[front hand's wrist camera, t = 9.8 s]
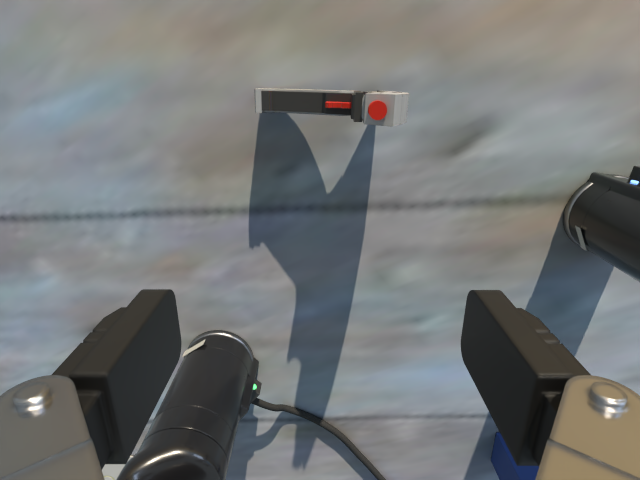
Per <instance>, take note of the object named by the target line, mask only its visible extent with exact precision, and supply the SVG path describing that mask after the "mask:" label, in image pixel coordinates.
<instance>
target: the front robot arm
mask: <svg viewBox="0 0 640 480" xmlns="http://www.w3.org/2000/svg"><path fill="white" fill-rule="evenodd" d="M180 352H181V335H180V328H179V321H178V313H177V306H176V299H175V295H174V292H173V291H172V290H141V291H140V292H139V293H138V295H137V296H136V297H135V298H134V299H133V300H132V302H131V303H130V304H129V305H128V306H127V307H126V308H120V309H118V310H116V311H115V312H113V313H111V314H110V315H108V316H106V317H105V318H103V319H102V321H101V322H100V323H99V324H98V325H97V326H96V327H95V328H94V329H93V332H92V333H90V334H89V335H88V336H87V337H86V338H85V339H84V340H83V343H80V344H79V346H78V347H77V348H76V349H75V350H74V351H73V352H72V353H71V354H70V355H69V356H68V358H67V359H66V360H65V361H64V362H63V363H62V364H61V365H60V366H59V367H58V368H57V370H56V371H55V372H54V373H53V374H52V375H49V376H42V377H37V378H34V379H31V380H28V381H25V382H23V383H21V384H18V385H16V386H15V387H13V388H11V389H9V390H8V391H6V392H5V393H3V394H2V395H1V396H0V480H105V479H104V476H103V473H102V469H103V467H104V465H105V464H125V466H124V467H123V469H122V470H121V472H120V474H119V476H118V477H117V479H116V480H225V478H226V474H227V470H228V465H229V461H230V457H231V453H232V448H233V444H234V440H235V436H236V431H237V427H238V423H239V420H240V419H241V418H242V417H243V416H244V415H245V414H246V413H247V412H248V410H249V406H250V404H251V403H252V404H254V405H257V406H259V407H262V408H265V409H268V410H272V411H285V412H289V413H292V414H295V415H298V416H300V417H303V418H305V419H308V420H310V421H312V422H314V423H316V424H318V425H320V426H321V427H323V428H325V429H326V430H328V431H329V432H331V433H332V434H334V435H335V436H336V437H338V438H339V439H340V440H341V441H342V442H343V443H344V444H345V445H346V446H347V447H348V448H349V449H350V450H351V451H352V452H353V453H354V454H355V456H356V457H357V458H358V459H359V460H360V461H361V462H362V463H363V464H364V465H365V466H366V467H367V468H368V469H369V470H370V471H371V473H372V474H373V475H374V476H375V477H376V478H377V479H378V480H386V479H385V478H384V477H383V476H382V475H381V474H380V473H379V472H378V470H377V469H376V468H375V467H374V466H373V465H372V464H371V463H370V462H369V461H368V459H367V458H366V457H365V456H364V455H363V454H362V453H361V452H360V451H359V450H358V449H357V448H356V447H355V446H354V444H353V443H352V442H351V441H350V440H349V439H348V438H347V437H346V436H345V435H344V434H342V433H341V432H340V431H339V430H337V429H336V428H335V427H333V426H332V425H330V424H328V423H327V422H325V421H323V420H322V419H320V418H318V417H316V416H314V415H312V414H309V413H307V412H305V411H302V410H299V409H297V408H294V407H291V406H287V405H282V404H280V405H275V404H271V403H268V402H265V401H263V400H260V399H258V398H257V397H258V396H259V394H260V389H261V384H262V383H260V382H259V381H257V380H256V379H255V378H256V373H257V369H258V364H259V361H258V360H256V359H255V358H254V357H253V353H252V350H251V348H250V347H249V345H248V344H247V343H246V342H245V341H244V340H243V339H242V338H241V337H239V336H237V335H235V334H233V333H231V332H227V331H221V330H214V331H208V332H205V333H202V334H201V335H199V336H197V337H196V338H195V339H194V340H193V341H192V342H191V344H190V345H189V347H188V350H186V351H185V352H184V354H183V356H185V357H184V359H183V361H182V363H181V365H180V367H179V369H178V371H177V373H176V375H175V377H174V380H173V382H172V384H171V386H170V388H169V390H168V392H167V394H166V396H165V398H164V400H163V402H162V404H161V406H160V408H159V410H158V412H157V414H156V416H155V418H154V420H153V422H152V424H151V427H150V429H149V431H148V433H147V435H146V437H145V439H144V441H143V443H142V445H141V447H140V449H139V451H138V452H137V454H135V455H134V456H133V457H132V458H131V459H130V460H129V461H128V459H129V458H130V456H131V454H132V452H133V450H134V448H135V446H136V444H137V442H138V440H139V438H140V436H141V434H142V432H143V430H144V428H145V426H146V424H147V422H148V420H149V418H150V416H151V414H152V412H153V410H154V408H155V406H156V404H157V402H158V400H159V398H160V396H161V394H162V393H163V391H164V389H165V387H166V385H167V383H168V381H169V379H170V377H171V375H172V373H173V371H174V369H175V367H176V365H177V363H178V360H179V357H180ZM461 352H462V357H463V361H464V363H465V365H466V367H467V369H468V371H469V373H470V375H471V377H472V379H473V381H474V383H475V385H476V387H477V389H478V391H479V393H480V395H481V397H482V398H483V400H484V402H485V404H486V406H487V408H488V410H489V412H490V414H491V416H492V418H493V420H494V422H495V424H496V426H497V428H498V430H499V432H500V434H501V435H502V437H503V439H504V441H505V443H506V445H507V447H508V449H509V451H510V453H511V455H512V457H513V459H514V461H515V463H516V465H517V466H539V469H538V473H537V476H536V479H535V480H640V396H639V395H638V394H637V393H635V392H634V391H632V390H631V389H629V388H627V387H625V386H624V385H622V384H619V383H617V382H615V381H612V380H609V379H606V378H602V377H598V376H591V375H590V373H589V372H588V371H587V370H586V369H585V368H584V367H583V366H582V365H581V364H580V363H579V362H578V361H577V359H576V358H575V357H574V356H573V355H572V354H571V353H570V352H569V351H568V350H567V349H566V348H565V346H564V345H563V344H560V341H559V340H558V339H557V338H556V337H555V336H554V335H553V333H550V330H549V329H548V328H547V327H546V326H545V325H544V324H543V323H542V322H541V321H540V319H538V318H537V317H535V316H533V315H532V314H530V313H528V312H527V311H525V310H523V309H522V308H516V307H515V306H514V305H513V304H512V303H511V302H510V300H509V299H508V298H507V297H506V296H505V295H504V294H503V292H502V291H500V290H471V291H470V292H469V294H468V296H467V301H466V308H465V315H464V322H463V329H462V336H461ZM183 356H182V357H183ZM127 461H128V462H127Z"/></svg>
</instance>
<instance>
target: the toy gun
mask: <svg viewBox="0 0 640 480" xmlns="http://www.w3.org/2000/svg"><path fill="white" fill-rule="evenodd" d="M408 99H409V93H402V92H392V91H377V92H361V91H339V90H306V89H268V88H259V89H255V112H256V113H262V112H278V113H299V114H319V115H338V116H345V115H351V119H354V122H362V120H363V123H364V124H369V125H381V126H398V125H401V124H404V123H406V121H407V110H408Z"/></svg>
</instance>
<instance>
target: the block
mask: <svg viewBox="0 0 640 480" xmlns="http://www.w3.org/2000/svg"><path fill="white" fill-rule="evenodd" d="M491 462H492V464H493V466H494V468H495V470H496V473H497V475H498V477H499V479H500V480H535V479H536V476H537V473H538V469H539V466H517V465H516V463H515V461H514V459H513V457H512V455H511V453H510V451H509V449H508V447H507V445H506V443H505V441H504V439H503V437H502V435H501V434H500V432H497V433H496V436H495V442H494V447H493V452H492V457H491Z"/></svg>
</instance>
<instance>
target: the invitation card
mask: <svg viewBox="0 0 640 480" xmlns="http://www.w3.org/2000/svg"><path fill="white" fill-rule="evenodd" d="M132 457H133V456H130V458H129V459H128V461H129V460H130V459H131V458H132ZM128 461H127V462H128ZM124 466H125V464H105V465H104V467H103V469H102V473H103V476H104V479H105V480H116V479H117V477H118V476H119V474H120V472H121V470H122V469H123V467H124Z"/></svg>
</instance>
